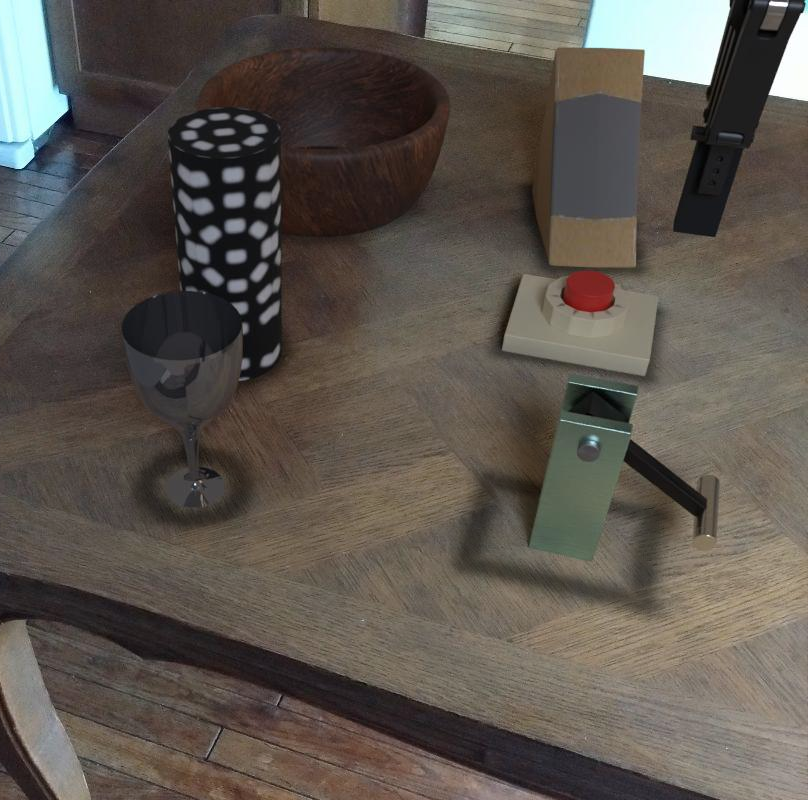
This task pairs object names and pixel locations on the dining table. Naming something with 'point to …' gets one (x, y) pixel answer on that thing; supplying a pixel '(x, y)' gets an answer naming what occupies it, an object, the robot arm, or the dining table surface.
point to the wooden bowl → (341, 132)
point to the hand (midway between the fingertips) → (694, 228)
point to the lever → (666, 478)
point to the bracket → (582, 470)
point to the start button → (589, 291)
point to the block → (581, 327)
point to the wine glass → (185, 374)
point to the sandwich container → (590, 158)
